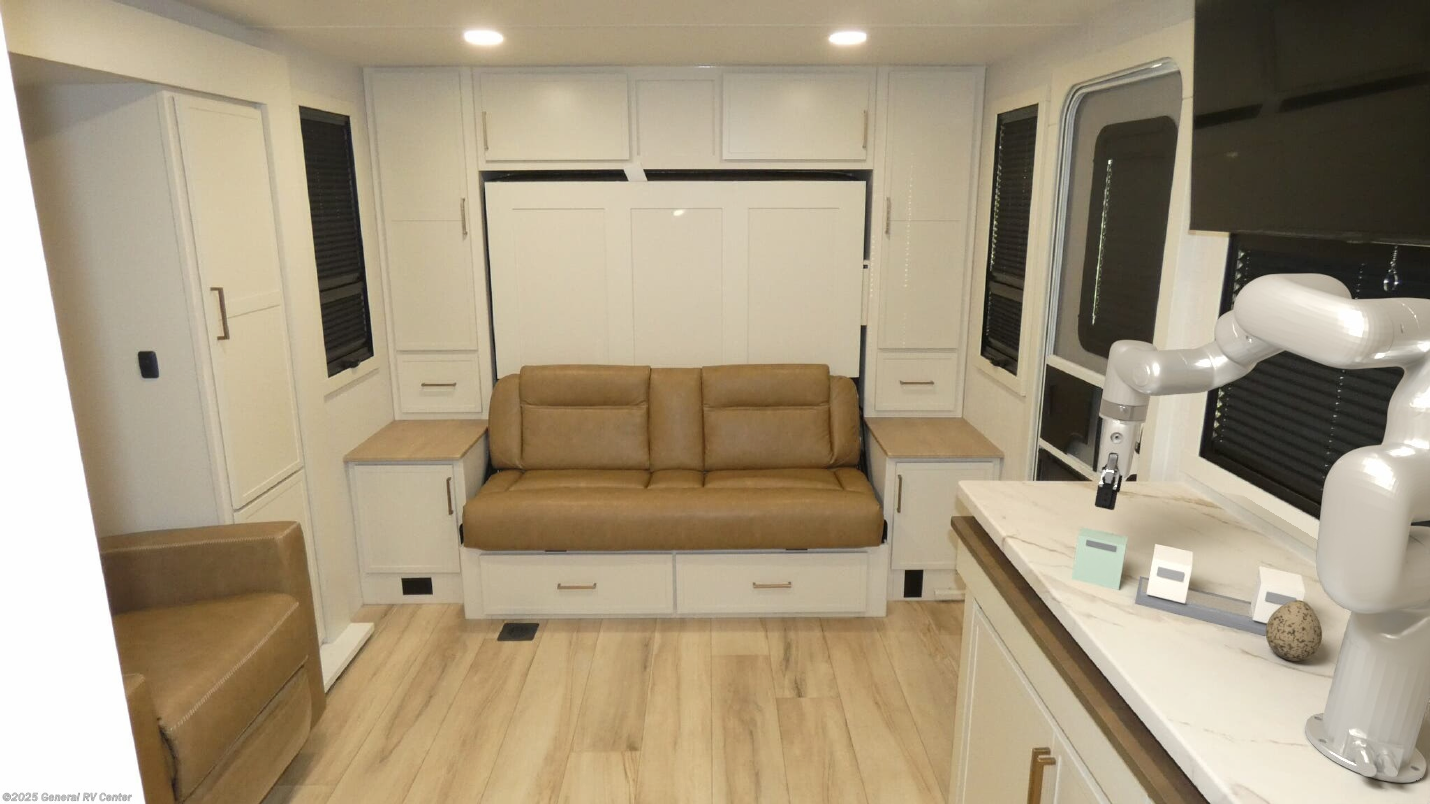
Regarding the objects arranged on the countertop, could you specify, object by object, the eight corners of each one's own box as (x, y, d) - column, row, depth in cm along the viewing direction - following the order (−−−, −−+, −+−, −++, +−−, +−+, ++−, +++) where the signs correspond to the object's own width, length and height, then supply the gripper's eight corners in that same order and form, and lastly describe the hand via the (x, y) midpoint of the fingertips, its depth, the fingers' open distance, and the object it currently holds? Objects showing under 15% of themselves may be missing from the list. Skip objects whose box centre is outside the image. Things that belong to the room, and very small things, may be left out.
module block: (1118, 591, 147) (1125, 546, 145) (1071, 579, 151) (1078, 535, 149) (1120, 580, 151) (1128, 536, 149) (1075, 569, 155) (1081, 526, 153)
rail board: (1305, 646, 131) (1317, 598, 128) (1134, 603, 143) (1142, 559, 141) (1300, 619, 139) (1311, 574, 137) (1139, 580, 151) (1146, 539, 149)
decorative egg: (1279, 641, 132) (1292, 586, 129) (1325, 665, 126) (1340, 607, 123) (1250, 650, 129) (1263, 594, 126) (1296, 675, 123) (1311, 616, 120)
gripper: (1143, 426, 134) (1125, 520, 139) (1150, 402, 148) (1133, 488, 153) (1094, 418, 137) (1078, 510, 142) (1105, 395, 152) (1091, 480, 157)
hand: (1107, 498), depth 148 cm, fingers open, 9 cm apart
